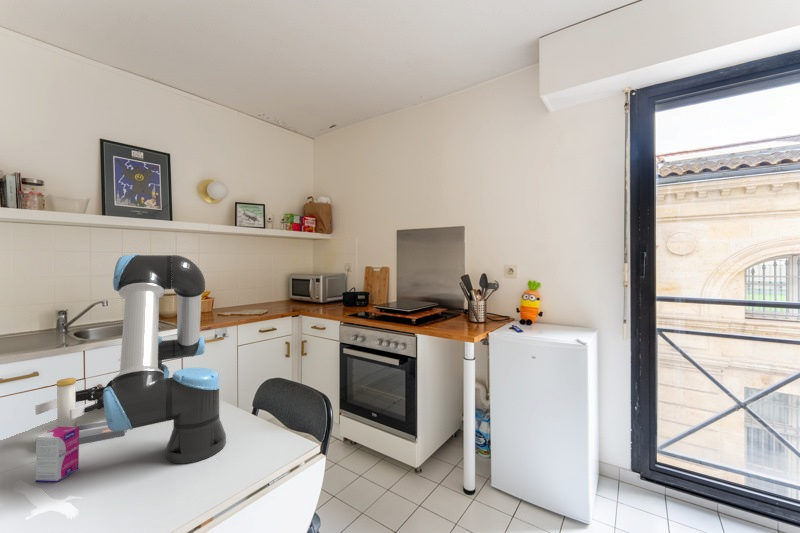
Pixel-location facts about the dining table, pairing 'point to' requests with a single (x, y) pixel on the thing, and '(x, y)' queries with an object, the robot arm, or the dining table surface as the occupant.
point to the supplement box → (57, 454)
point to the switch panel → (96, 432)
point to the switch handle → (66, 402)
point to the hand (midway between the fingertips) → (53, 412)
